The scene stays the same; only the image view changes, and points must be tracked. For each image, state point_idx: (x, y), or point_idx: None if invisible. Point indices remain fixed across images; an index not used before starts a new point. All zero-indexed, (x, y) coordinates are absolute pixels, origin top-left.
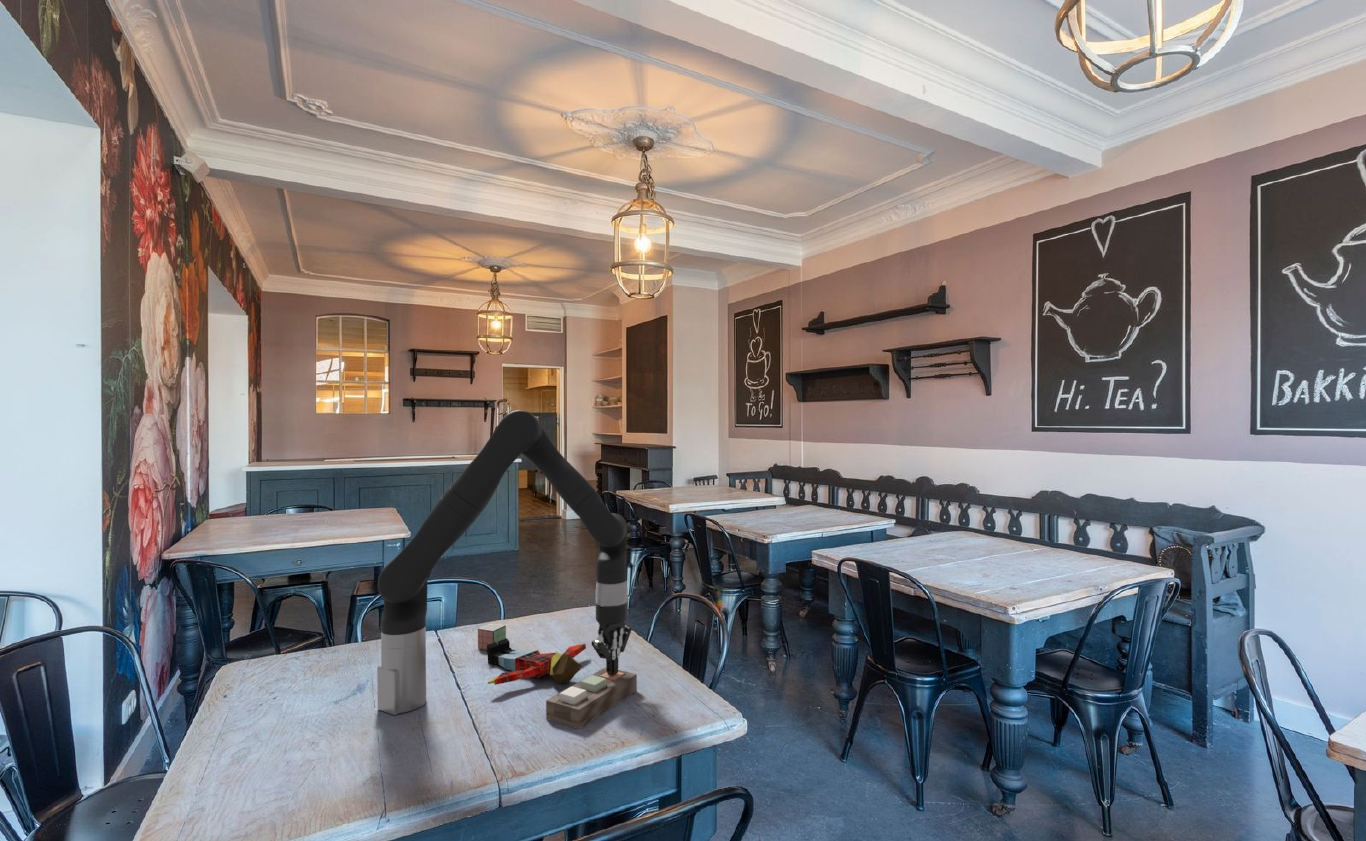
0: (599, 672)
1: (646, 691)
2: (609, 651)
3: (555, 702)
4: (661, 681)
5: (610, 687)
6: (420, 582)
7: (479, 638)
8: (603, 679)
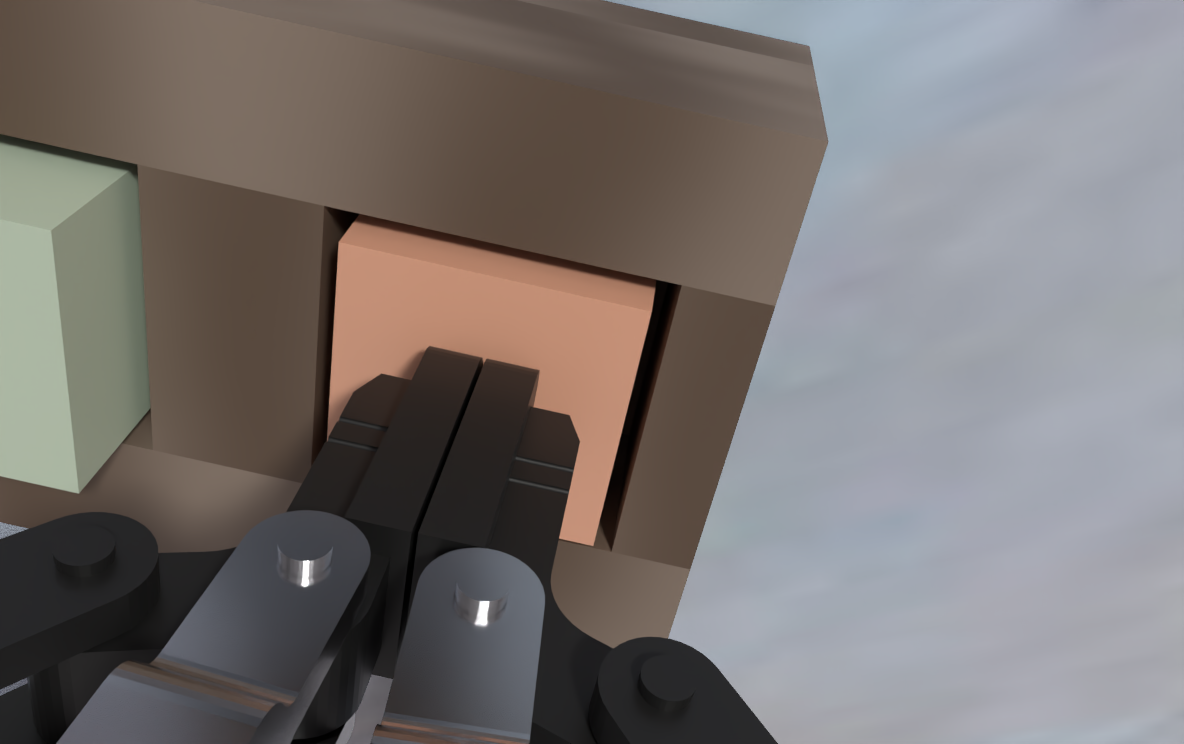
0: (525, 131)
1: (699, 594)
2: (403, 641)
3: None
4: (1014, 665)
5: (103, 505)
6: None
7: None
8: (28, 471)
